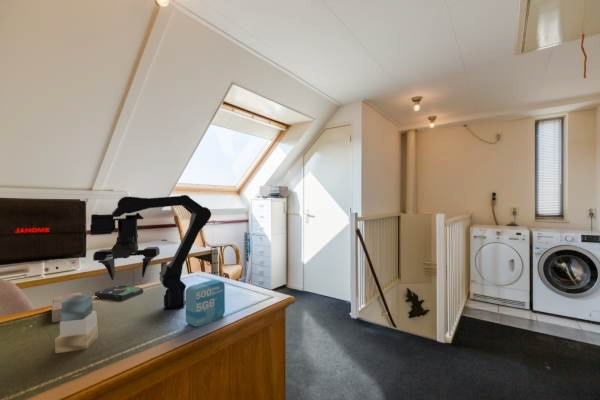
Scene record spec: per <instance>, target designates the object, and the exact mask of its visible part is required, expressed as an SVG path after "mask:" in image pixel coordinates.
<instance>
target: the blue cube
mask: <svg viewBox="0 0 600 400" xmlns="http://www.w3.org/2000/svg"><path fill="white" fill-rule="evenodd" d="M61 304H62V321H71V320H81V319H84V318H86V317H87V316H88V315H89V314H91V313H92V311H93V294H85V295H83V294H82V295H81V296H71V297H70V298H68V299H67V300H65V301H63V302H62V303H61Z"/></svg>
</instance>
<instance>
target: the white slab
mask: <svg viewBox="0 0 600 400" xmlns="http://www.w3.org/2000/svg"><path fill="white" fill-rule="evenodd" d="M97 316H98V311H97V310H92V313H91V314H89V315H88V316H87V317H86V318H84V319H81V320H71V321H59V335H60V337H66V336H75V335H84V334H87V333H88V332H89V331H90V330H92V329H93V328H94V327H95V326H96V325H97V324H98V320H97V318H98V317H97Z"/></svg>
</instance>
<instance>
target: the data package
mask: <svg viewBox="0 0 600 400" xmlns="http://www.w3.org/2000/svg"><path fill="white" fill-rule="evenodd" d="M225 286H226V285H225V283H224V281H221V280H217V279H211V280H208V281H204V282H200V283H197V284H193V285H190V286H188V287H187V288H185V301H186V303H185V322H186V324H187V325H191V326H193V327H195V328H198V327H197V326H199V327H200V325H201V326H203V325H206V324H208V323H210V322H213V321H214V319H215V320H218V319H220V318H222V317H223V316H224V315H225V312H226V299H225V298H226V297H225V295H226V291H225V290H226V289H225ZM221 316H222V317H221ZM219 317H220V318H219ZM217 318H218V319H217ZM212 320H213V321H212ZM209 321H210V322H209ZM207 322H208V323H207ZM205 323H206V324H205ZM202 324H203V325H202Z"/></svg>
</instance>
